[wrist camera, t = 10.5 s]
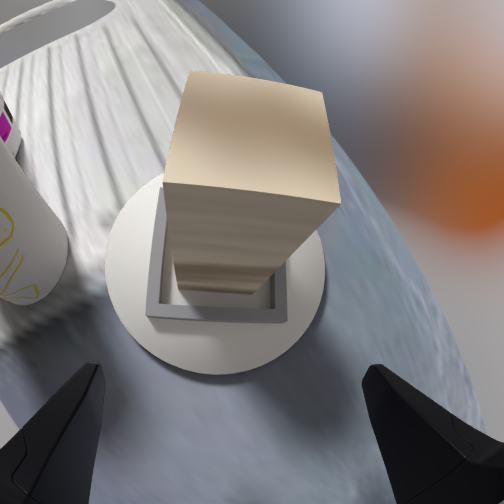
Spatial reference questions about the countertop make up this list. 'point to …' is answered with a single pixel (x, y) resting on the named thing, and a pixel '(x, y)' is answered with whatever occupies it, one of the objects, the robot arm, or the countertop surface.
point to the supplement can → (9, 129)
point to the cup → (27, 237)
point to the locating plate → (204, 297)
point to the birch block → (245, 179)
